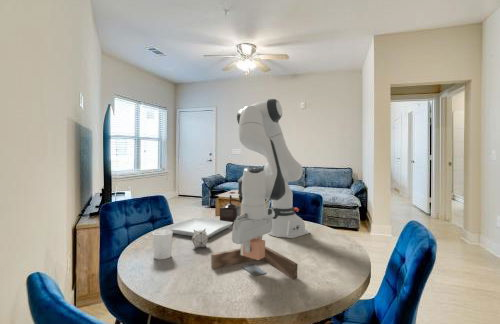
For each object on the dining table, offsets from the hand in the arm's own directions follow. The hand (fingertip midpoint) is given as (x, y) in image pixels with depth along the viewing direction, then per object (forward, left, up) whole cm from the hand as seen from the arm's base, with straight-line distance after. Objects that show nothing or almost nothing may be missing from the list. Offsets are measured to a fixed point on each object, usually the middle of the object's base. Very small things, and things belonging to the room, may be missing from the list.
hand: (252, 249), depth 100 cm
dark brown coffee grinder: (-24, -64, -8) cm, 69 cm away
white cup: (+26, -29, -8) cm, 39 cm away
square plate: (0, -57, -8) cm, 57 cm away
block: (0, 0, -2) cm, 2 cm away
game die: (+9, -32, -8) cm, 34 cm away
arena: (+1, +2, -7) cm, 8 cm away
